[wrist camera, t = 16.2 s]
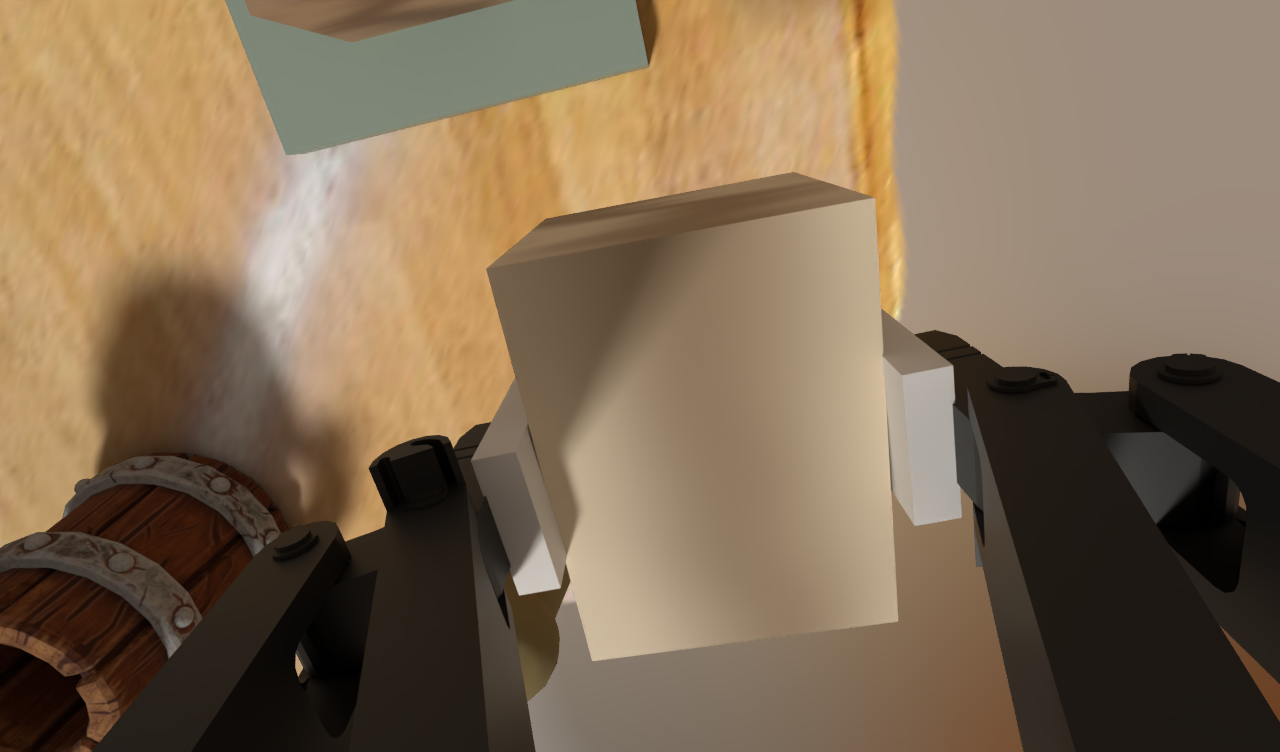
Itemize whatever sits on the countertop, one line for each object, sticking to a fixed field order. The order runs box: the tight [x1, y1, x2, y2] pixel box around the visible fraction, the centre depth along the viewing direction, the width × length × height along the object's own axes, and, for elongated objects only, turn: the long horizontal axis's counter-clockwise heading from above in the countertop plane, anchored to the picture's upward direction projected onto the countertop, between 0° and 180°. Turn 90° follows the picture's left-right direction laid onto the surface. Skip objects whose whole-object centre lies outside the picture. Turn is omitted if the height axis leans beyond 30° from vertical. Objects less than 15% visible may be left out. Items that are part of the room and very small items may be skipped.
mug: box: [0, 453, 288, 752], centre depth 31 cm, size 12×14×15 cm
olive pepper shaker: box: [504, 564, 571, 701], centre depth 31 cm, size 6×6×11 cm
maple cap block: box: [486, 172, 898, 661], centre depth 14 cm, size 6×8×6 cm
